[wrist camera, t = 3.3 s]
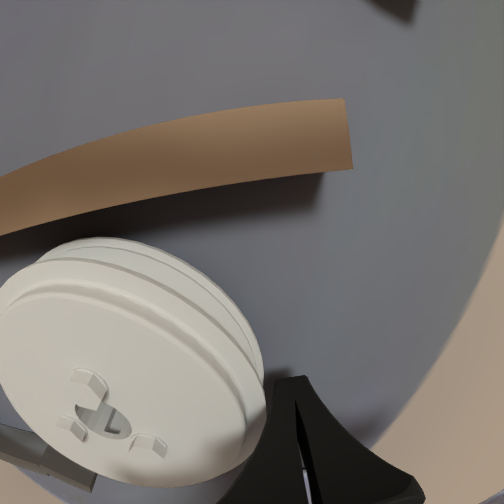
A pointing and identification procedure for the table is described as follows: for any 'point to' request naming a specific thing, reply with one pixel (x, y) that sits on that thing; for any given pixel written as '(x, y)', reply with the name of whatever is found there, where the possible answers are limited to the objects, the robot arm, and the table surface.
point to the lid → (131, 363)
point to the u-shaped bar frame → (164, 191)
